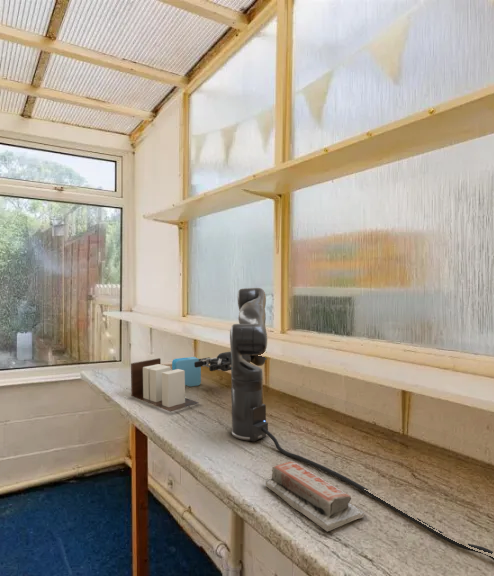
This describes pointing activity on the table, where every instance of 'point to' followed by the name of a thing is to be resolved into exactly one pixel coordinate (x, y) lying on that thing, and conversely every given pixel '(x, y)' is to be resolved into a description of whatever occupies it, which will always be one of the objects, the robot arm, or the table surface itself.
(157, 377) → the cream rectangular block
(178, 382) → the upright ivory block
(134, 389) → the dark wood bookend
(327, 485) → the packaged product
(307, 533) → the table surface
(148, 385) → the white book
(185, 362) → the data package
